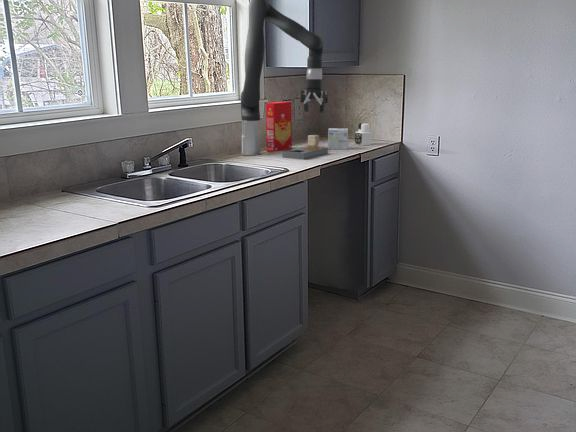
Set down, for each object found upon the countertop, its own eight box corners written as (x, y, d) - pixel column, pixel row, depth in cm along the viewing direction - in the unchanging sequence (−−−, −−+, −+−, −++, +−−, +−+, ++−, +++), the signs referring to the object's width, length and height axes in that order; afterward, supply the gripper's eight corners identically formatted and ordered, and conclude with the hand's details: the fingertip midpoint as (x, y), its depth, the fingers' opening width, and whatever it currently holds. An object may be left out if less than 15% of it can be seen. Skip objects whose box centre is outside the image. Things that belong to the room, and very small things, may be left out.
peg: (314, 154, 291) (314, 136, 288) (307, 153, 293) (307, 135, 291) (318, 153, 294) (318, 135, 292) (312, 152, 296) (312, 134, 294)
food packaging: (274, 152, 303) (274, 103, 296) (266, 151, 306) (265, 103, 300) (291, 149, 314) (291, 101, 308) (283, 148, 317) (283, 101, 311)
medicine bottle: (354, 144, 332) (355, 122, 329) (365, 143, 335) (366, 122, 332) (361, 145, 326) (361, 124, 323) (372, 145, 329) (372, 123, 325)
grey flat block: (303, 161, 276) (303, 152, 275) (282, 159, 283) (282, 150, 281) (327, 155, 293) (328, 146, 292) (307, 153, 300) (307, 145, 299)
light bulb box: (347, 147, 318) (348, 128, 316) (347, 149, 312) (348, 129, 309) (328, 147, 319) (328, 127, 317) (327, 149, 313) (328, 129, 310)
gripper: (330, 78, 283) (330, 112, 287) (306, 77, 291) (305, 110, 295) (322, 78, 277) (322, 113, 281) (297, 78, 285) (297, 111, 289)
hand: (313, 112), depth 288 cm, fingers open, 8 cm apart
